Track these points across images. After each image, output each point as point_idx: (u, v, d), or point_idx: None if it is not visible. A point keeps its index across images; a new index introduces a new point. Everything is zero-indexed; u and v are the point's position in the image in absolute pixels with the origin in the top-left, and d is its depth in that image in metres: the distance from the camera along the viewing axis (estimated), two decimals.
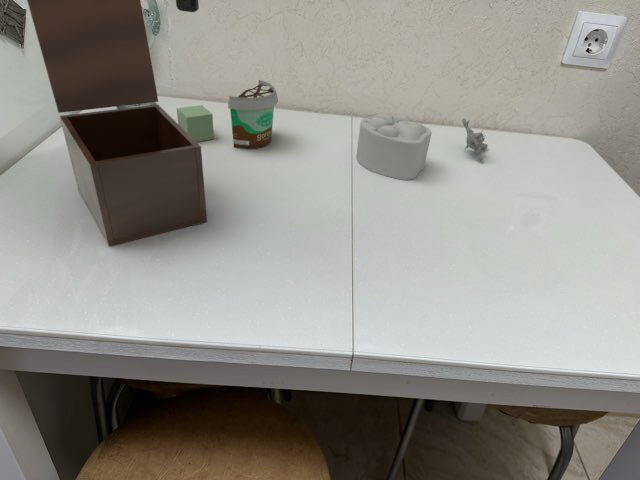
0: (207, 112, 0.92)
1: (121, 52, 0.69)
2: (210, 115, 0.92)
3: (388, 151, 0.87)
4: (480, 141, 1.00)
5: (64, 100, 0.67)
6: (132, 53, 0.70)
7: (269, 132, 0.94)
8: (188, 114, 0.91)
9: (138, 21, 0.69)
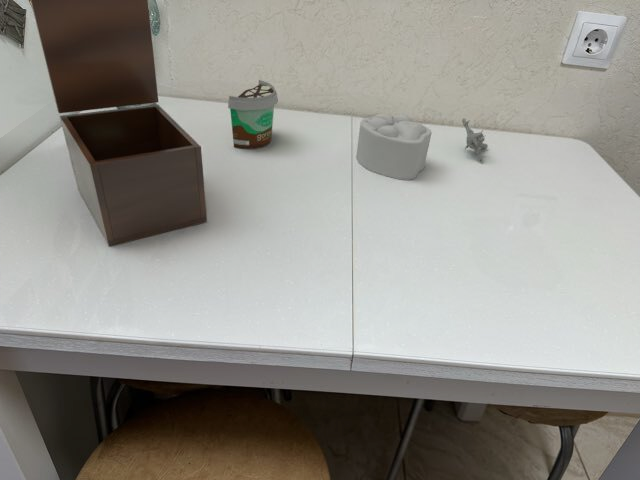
0: None
1: (125, 56, 0.68)
2: None
3: (388, 151, 0.87)
4: (480, 141, 1.00)
5: (65, 102, 0.67)
6: (136, 56, 0.69)
7: (269, 132, 0.94)
8: None
9: (144, 25, 0.67)
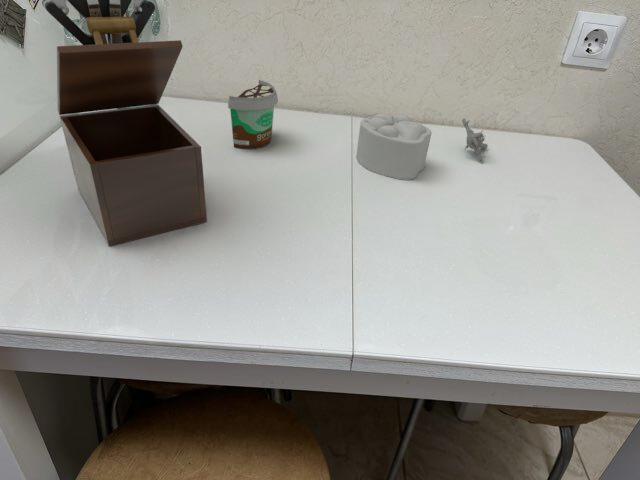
0: None
1: (138, 86, 0.67)
2: None
3: (388, 151, 0.87)
4: (480, 141, 1.00)
5: (68, 109, 0.67)
6: (149, 85, 0.68)
7: (269, 132, 0.94)
8: None
9: (166, 71, 0.65)
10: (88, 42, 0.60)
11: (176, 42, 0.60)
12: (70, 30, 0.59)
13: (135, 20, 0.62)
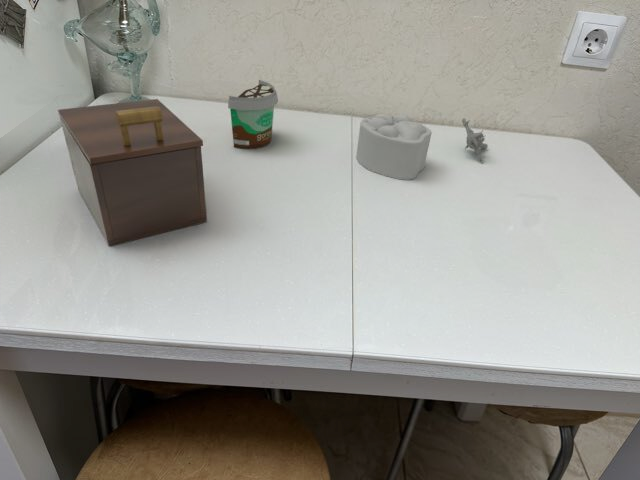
0: None
1: None
2: None
3: (388, 151, 0.87)
4: (480, 141, 1.00)
5: None
6: None
7: (269, 132, 0.94)
8: None
9: None
10: None
11: (198, 142, 0.64)
12: None
13: None
